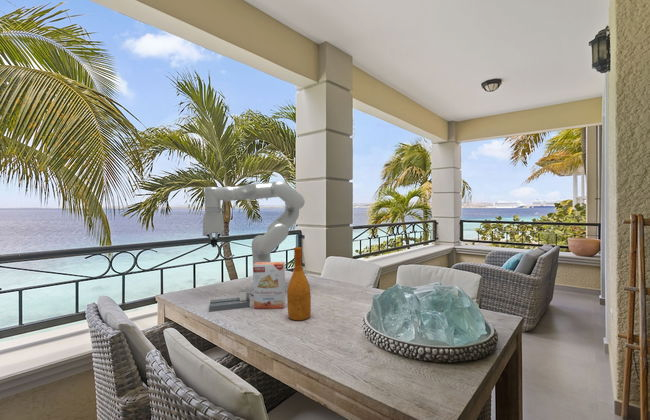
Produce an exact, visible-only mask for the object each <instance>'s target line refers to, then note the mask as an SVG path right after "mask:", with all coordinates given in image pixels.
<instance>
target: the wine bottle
mask: <svg viewBox="0 0 650 420" xmlns="http://www.w3.org/2000/svg"><path fill="white" fill-rule="evenodd" d="M302 250H303V249H302V247H301V246H295V247H294V249H293V251H294V255H293V258H294V267H293V270H292V271H293V272H292V275H291V277H290V280H289V283H288V287H287V296H286V297H287V300H286V301H287V315H288V318H289V319H291V320H293V321H304V320H307V319H309V318H310V317H311V311H312V310H311V309H312V308H311V303H312V302H311V298H312V296H311V287H310V286H311V285H310V284H309V281H308V279H307V276H306V274H305V271H304V269H303V265H302V258H303V254H302V253H303V251H302Z"/></svg>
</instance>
